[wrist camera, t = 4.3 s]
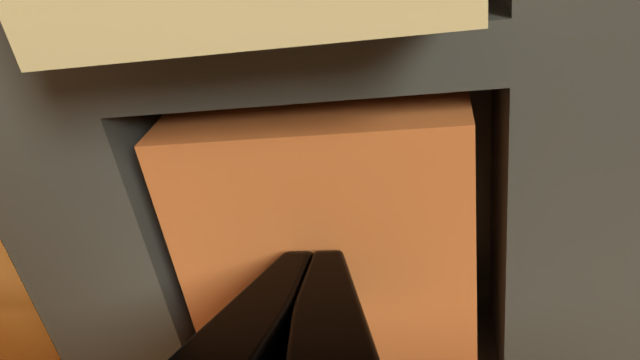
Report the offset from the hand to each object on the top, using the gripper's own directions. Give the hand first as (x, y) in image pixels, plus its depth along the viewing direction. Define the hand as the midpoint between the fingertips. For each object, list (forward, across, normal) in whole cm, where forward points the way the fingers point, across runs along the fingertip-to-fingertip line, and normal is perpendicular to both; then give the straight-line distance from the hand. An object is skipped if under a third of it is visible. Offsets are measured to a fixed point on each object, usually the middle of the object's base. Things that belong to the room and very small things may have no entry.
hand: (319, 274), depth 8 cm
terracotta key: (+2, 0, 0) cm, 2 cm away
